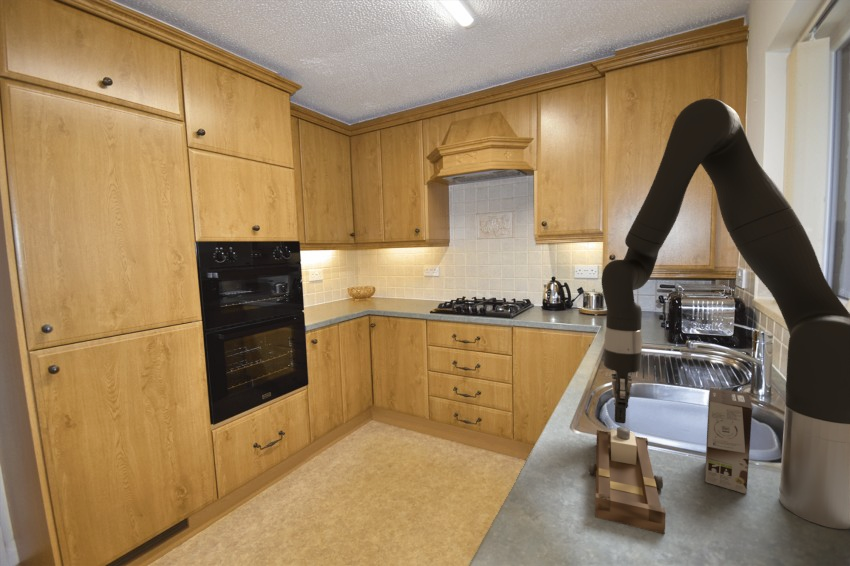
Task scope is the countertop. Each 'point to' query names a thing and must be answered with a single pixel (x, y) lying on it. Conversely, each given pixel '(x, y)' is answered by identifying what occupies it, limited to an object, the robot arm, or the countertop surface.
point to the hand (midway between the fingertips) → (619, 421)
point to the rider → (623, 446)
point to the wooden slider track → (627, 487)
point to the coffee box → (728, 439)
